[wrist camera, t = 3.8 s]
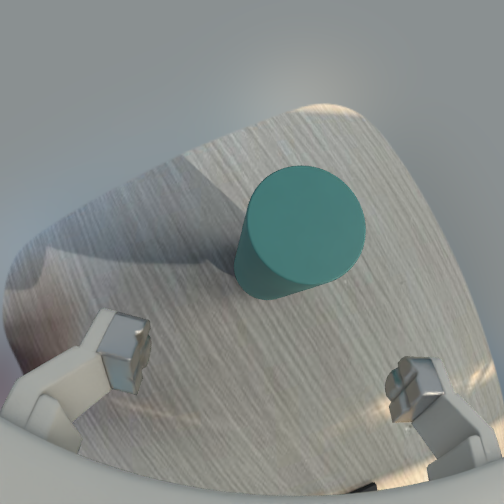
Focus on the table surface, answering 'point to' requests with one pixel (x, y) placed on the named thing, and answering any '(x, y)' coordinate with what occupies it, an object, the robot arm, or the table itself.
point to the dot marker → (298, 233)
